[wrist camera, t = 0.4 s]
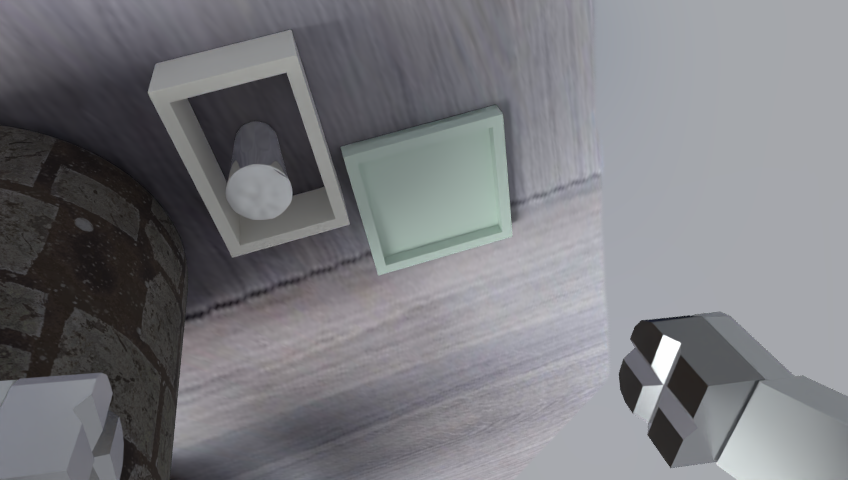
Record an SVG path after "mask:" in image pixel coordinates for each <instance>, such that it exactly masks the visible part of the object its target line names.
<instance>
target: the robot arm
mask: <svg viewBox="0 0 848 480" xmlns="http://www.w3.org/2000/svg"><path fill="white" fill-rule="evenodd" d="M630 340H631V341H632V343H633V345H634V347H635V348H634V349H633V350H632V351H631V352H630V353H629V354H628V355H627V356H626V357H625V358H624V359H623V362H622V365H621V368H620V372H619V380H620V390H621V393H622V395H623V397H624V400H625V402H626V404H627V405H628V407H629V408H630V410H631V411H632V413H633V414H635V415H636V416H638V417H639V418H641V419H643V420H644V421H646V422H648V436H649V438H650V439H651V441H652V442H653V443H654V445H655V446H656V448H657V449H658V451H659V452H660V454H661V455H662V456H663V458H664V459H665V461H666V462H667V464H668V465H669V466H670V468H675V467H682V466H689V465H697V464H703V463H711V462H717V464H716V465H718V466H719V467H720V468H722V469H723V470H725V471H726V472H727V473H729V474H730V475H731V476H733V477H734V478H735V479H737V480H848V396H846V395H843V394H841V393H839V392H837V391H835V390H833V389H831V388H828V387H826V386H824V385H822V384H820V383H818V382H816V381H813V380H811V379H809V378H807V377H805V376H794V375H793V374H792V373H791V372H790V371H789V370H787V369H786V368H785V367H784V366H783V365H782V364H781V363H780V362H779V361H778V360H777V359H776V358H774V356H772V355H771V354H770V353H769V352H768V351H767V350H766V349H765V348H764V347H763V346H762V345H761V344H760V343H759V342H758V341H756V340H755V339H754V338H753V337H752V336H751V335H750V334H749V333H748V332H747V331H746V330H745V329H744V328H742V327H741V325H739V324H738V323H737V322H736V321H735V320H734V319H733V318H732V317H731V316H729V315H727V314H725V313H722V312H713V313H703V314H695V315H692V316H690V315H688V316H680V317H669V318H660V319H652V320H641V321H640V323H638V324H637V325H636V326H635V328H634V330H633V333H632V335H631V338H630ZM112 394H113V392H112V389H111V386H110V382H109V379H108V376H107V375H106V374H104V373H89V374H76V375H63V376H49V377H36V378H23V379H19V380H8V381H0V480H120V476H121V471H122V466H123V450H124V441H123V432H122V426H121V422H120V418H119V416H118V415H117V414H115V413H114V412H112V411H111V410H109V405H110V402H111V398H112Z"/></svg>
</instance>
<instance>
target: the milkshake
mask: <svg viewBox="0 0 848 480" xmlns="http://www.w3.org/2000/svg"><path fill="white" fill-rule="evenodd" d="M226 199H227V201H228V203H229V204H230V206H231V207H232V209H233V210H234V211H235V212H236V213H238V214H240V215H242V216H244V217H246V218H249V219H252V220H267V219H273V218H275V217H277V216H279V215H281V214H282V213H283V212H284V211H285V210H286V209H287V207H288V206H289V205H290V203H291V201H292V186H291V183H290V180H289V177H288V174H287V171H286V168H285V164H284V161H283V157H282V153H281V150H280V146H279V142H278V138H277V134H276V132H275V131H274V130H273V129H272V128H271V127H270V126H269V125H268V124H267V123H262V122H258V121H252V122H249V123H246V124H244V125H242V126H241V128H240V129H239V131H238V132H237V134H236V136H235V142H234V149H233V155H232V161H231V168H230V173H229V177H228V182H227V186H226Z"/></svg>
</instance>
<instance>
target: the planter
mask: <svg viewBox="0 0 848 480" xmlns="http://www.w3.org/2000/svg"><path fill="white" fill-rule="evenodd" d="M187 290H188V271H187V262H186V257H185V252H184V249H183V245H182V242H181V240H180V237H179V235H178V233H177V231H176V229H175V227H174V225H173V223H172V221H171V220H170V218H169V217H168V215H167V214H166V212H165V211H164V209H163V208H162V207H161V206H160V204H159V203H158V202H157V201H156V200H155V199H154V197H153V196H152V195H151V194H150V193H149V192H148V191H147V190H146V189H145V188H143V187H142V186H141V185H140V184H139V183H138V182H137V181H135V180H134V179H133V178H132V177H130V176H129V175H128V174H126V173H125V172H124V171H122V170H121V169H119V168H118V167H116V166H115V165H113V164H111V163H110V162H108V161H106V160H105V159H103V158H101V157H99V156H97V155H95V154H93V153H91V152H89V151H87V150H85V149H83V148H81V147H78V146H76V145H74V144H71V143H69V142H66V141H63V140H60V139H57V138H54V137H51V136H48V135H44V134H41V133H37V132H33V131H29V130H24V129H19V128H14V127H8V126H1V125H0V381H8V380H19V379H23V378H36V377H49V376H63V375H76V374H89V373H104V374H106V375H107V376H108V379H109V382H110V386H111V389H112V392H113V394H112V398H111V402H110V405H109V410H111V411H112V412H114V413H115V414H117V415H118V416H119V418H120V422H121V426H122V432H123V441H124V450H123V466H122V471H121V476H120V480H170V471H171V460H172V450H173V439H174V429H175V418H176V408H177V397H178V387H179V376H180V365H181V355H182V344H183V334H184V323H185V313H186V302H187Z"/></svg>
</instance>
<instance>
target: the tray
mask: <svg viewBox="0 0 848 480" xmlns="http://www.w3.org/2000/svg"><path fill="white" fill-rule="evenodd" d="M341 151H342V155H343V158H344V162H345V165H346V169H347V172H348V175H349V179H350V182H351V185H352V189H353V192H354V195H355V199H356V202H357V206H358V209H359V212H360V216H361V219H362V222H363V226H364V229H365V233H366V236H367V239H368V243H369V246H370V249H371V253H372V256H373V260H374V263H375V266H376V270H377V273H378V276H379V275H382V274H385V273H389V272H392V271H396V270H399V269H403V268H406V267H410V266H413V265H416V264H420V263H423V262H427V261H430V260H434V259H437V258H441V257H444V256H447V255H451V254H454V253H458V252H461V251H465V250H468V249H472V248H475V247H478V246H482V245H485V244H489V243H492V242H496V241H499V240H503V239H506V238H509V237H512V224H511V211H510V199H509V186H508V173H507V160H506V147H505V134H504V121H503V113H502V112H501V111H500V109H499V108H498V107H497V105H493V106H489V107H486V108H482V109H478V110H474V111H471V112H467V113H463V114H460V115H456V116H452V117H449V118H445V119H441V120H437V121H434V122H430V123H426V124H423V125H419V126H415V127H412V128H408V129H404V130H400V131H397V132H393V133H389V134H386V135H382V136H378V137H374V138H371V139H367V140H363V141H360V142H356V143H352V144H349V145H345V146H341Z"/></svg>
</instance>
